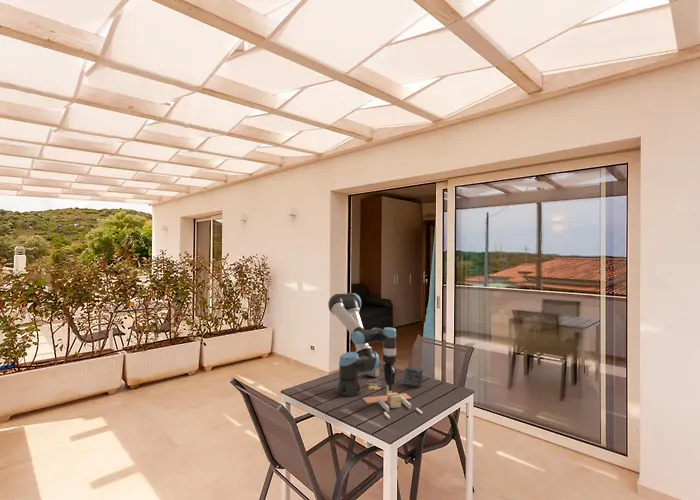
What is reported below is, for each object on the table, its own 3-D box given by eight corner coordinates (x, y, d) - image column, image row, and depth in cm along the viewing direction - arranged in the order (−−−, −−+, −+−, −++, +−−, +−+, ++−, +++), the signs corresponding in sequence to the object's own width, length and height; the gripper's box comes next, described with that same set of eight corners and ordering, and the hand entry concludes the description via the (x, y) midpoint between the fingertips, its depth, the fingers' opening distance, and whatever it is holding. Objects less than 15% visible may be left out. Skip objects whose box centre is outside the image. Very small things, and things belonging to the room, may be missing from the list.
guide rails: (377, 401, 210) (377, 397, 210) (400, 399, 214) (400, 395, 214) (387, 411, 196) (387, 407, 196) (411, 408, 201) (411, 404, 201)
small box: (422, 385, 239) (423, 369, 239) (419, 388, 233) (419, 371, 233) (408, 382, 244) (408, 366, 244) (404, 384, 239) (404, 368, 239)
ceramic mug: (374, 378, 250) (375, 367, 250) (364, 376, 255) (364, 365, 255) (382, 375, 259) (382, 364, 259) (372, 372, 263) (372, 362, 264)
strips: (383, 413, 194) (383, 412, 194) (417, 409, 200) (417, 407, 200) (388, 418, 188) (388, 416, 188) (422, 414, 194) (422, 412, 194)
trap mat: (362, 398, 214) (362, 397, 214) (405, 393, 223) (405, 393, 223) (367, 403, 207) (367, 403, 207) (411, 398, 215) (411, 398, 215)
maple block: (387, 404, 207) (387, 393, 207) (396, 402, 209) (396, 392, 209) (391, 408, 201) (391, 397, 202) (401, 407, 203) (401, 396, 203)
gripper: (379, 352, 218) (379, 392, 217) (388, 358, 205) (387, 400, 205) (390, 351, 220) (390, 390, 219) (400, 357, 207) (400, 398, 207)
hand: (389, 395), depth 212 cm, fingers closed
